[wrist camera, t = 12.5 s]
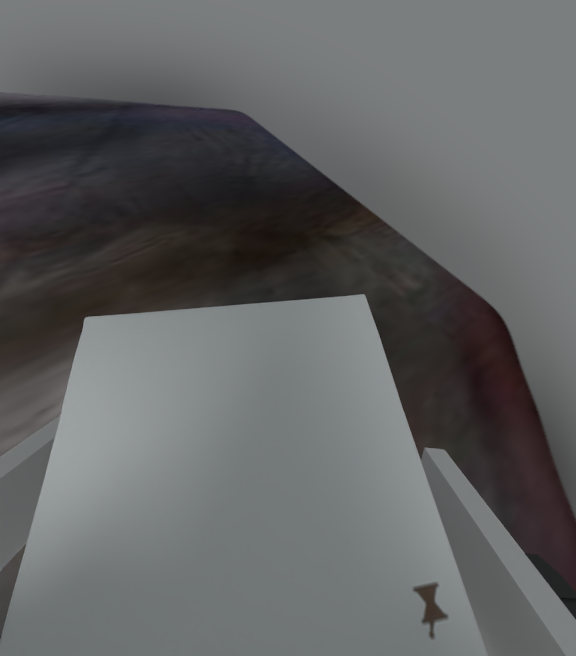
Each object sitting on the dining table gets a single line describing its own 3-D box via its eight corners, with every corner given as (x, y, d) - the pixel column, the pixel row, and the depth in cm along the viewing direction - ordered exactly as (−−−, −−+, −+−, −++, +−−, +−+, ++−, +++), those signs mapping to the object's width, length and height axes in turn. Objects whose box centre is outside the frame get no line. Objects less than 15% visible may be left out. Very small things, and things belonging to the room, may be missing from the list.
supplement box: (314, 408, 22) (375, 284, 9) (339, 553, 18) (521, 691, 5) (193, 422, 21) (77, 305, 8) (188, 580, 17) (-74, 839, 4)
